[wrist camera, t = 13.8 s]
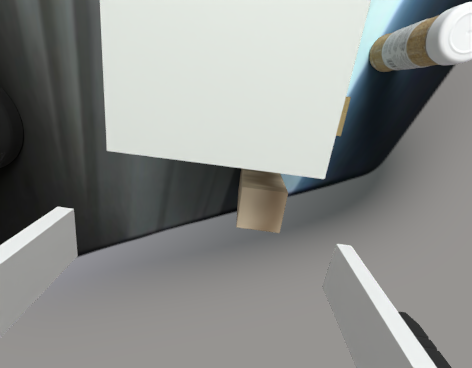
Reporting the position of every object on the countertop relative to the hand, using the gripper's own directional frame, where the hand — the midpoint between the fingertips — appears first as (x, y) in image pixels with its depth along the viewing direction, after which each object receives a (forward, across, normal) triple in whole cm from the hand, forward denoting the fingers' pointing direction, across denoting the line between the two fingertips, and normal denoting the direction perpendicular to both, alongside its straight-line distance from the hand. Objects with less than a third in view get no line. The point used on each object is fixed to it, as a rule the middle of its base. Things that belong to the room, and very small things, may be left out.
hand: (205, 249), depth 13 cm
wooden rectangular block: (+27, +5, 0) cm, 27 cm away
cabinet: (+27, 0, +9) cm, 29 cm away
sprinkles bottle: (+27, +19, +15) cm, 36 cm away
